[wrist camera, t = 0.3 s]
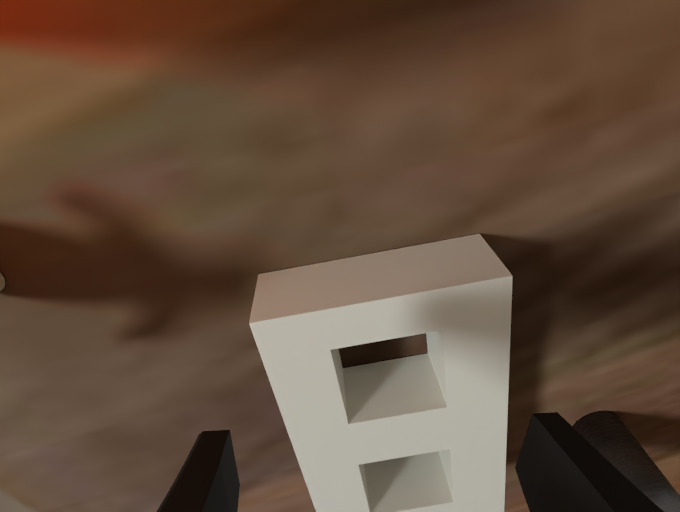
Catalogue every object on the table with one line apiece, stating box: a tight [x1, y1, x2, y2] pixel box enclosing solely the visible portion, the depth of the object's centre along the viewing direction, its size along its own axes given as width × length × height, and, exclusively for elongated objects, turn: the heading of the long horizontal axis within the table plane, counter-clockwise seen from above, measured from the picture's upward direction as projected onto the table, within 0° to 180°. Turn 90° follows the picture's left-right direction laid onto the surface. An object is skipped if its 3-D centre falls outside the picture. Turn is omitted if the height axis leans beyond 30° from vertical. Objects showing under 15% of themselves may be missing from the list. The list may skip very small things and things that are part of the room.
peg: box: [573, 411, 680, 512], centre depth 22 cm, size 3×3×9 cm
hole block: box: [249, 234, 513, 512], centre depth 21 cm, size 16×10×4 cm, turn 10°
